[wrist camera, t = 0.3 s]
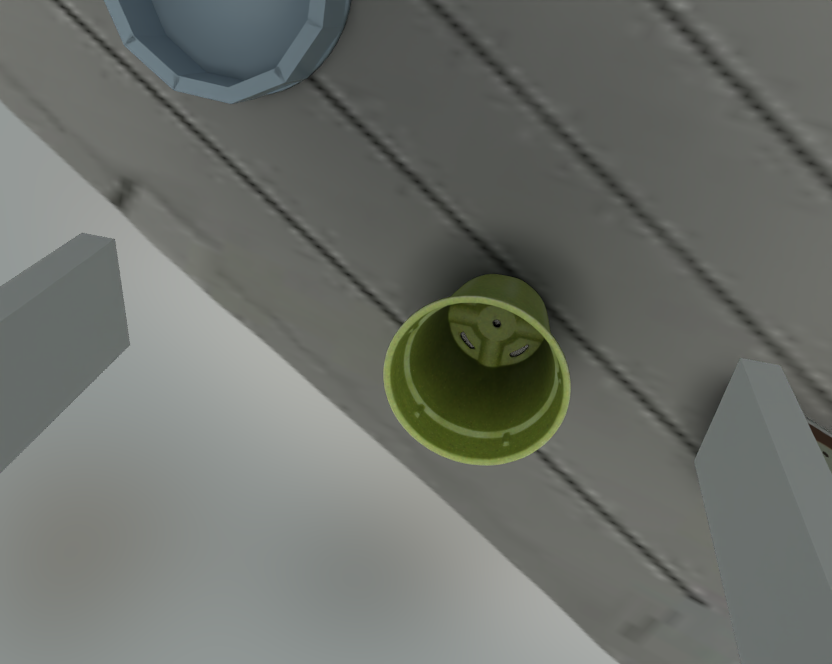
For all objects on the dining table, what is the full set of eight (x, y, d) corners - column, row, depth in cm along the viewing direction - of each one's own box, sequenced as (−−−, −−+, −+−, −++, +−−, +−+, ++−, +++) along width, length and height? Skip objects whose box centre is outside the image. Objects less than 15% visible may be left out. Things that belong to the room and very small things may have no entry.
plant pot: (392, 301, 43) (346, 362, 35) (512, 212, 39) (490, 260, 31) (483, 411, 44) (459, 492, 37) (608, 337, 40) (610, 411, 33)
